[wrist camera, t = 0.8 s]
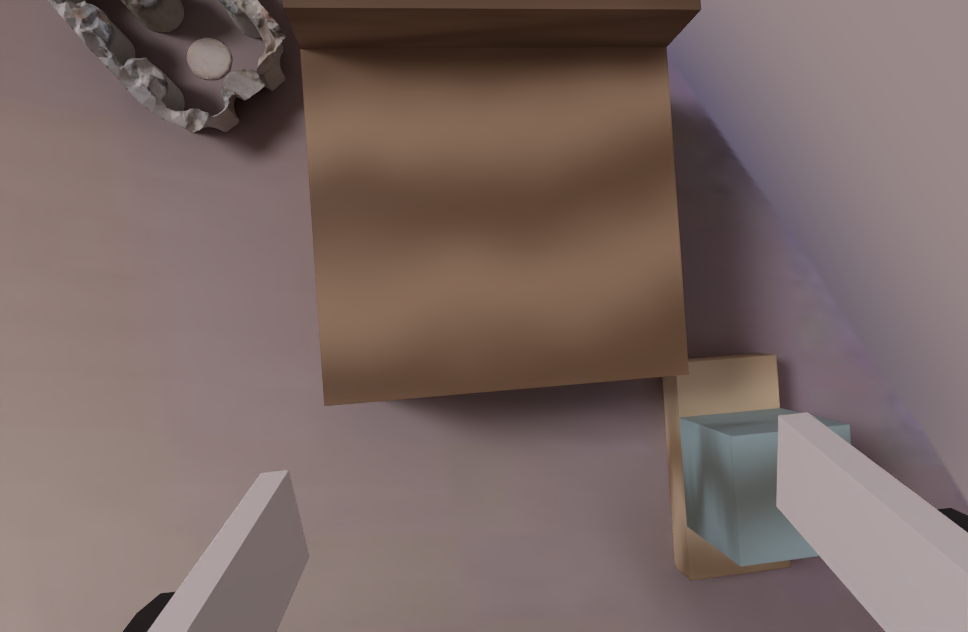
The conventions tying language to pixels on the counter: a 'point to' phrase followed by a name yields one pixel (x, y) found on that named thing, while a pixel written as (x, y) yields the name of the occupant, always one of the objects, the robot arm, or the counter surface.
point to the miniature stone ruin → (206, 57)
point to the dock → (491, 193)
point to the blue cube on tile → (729, 467)
